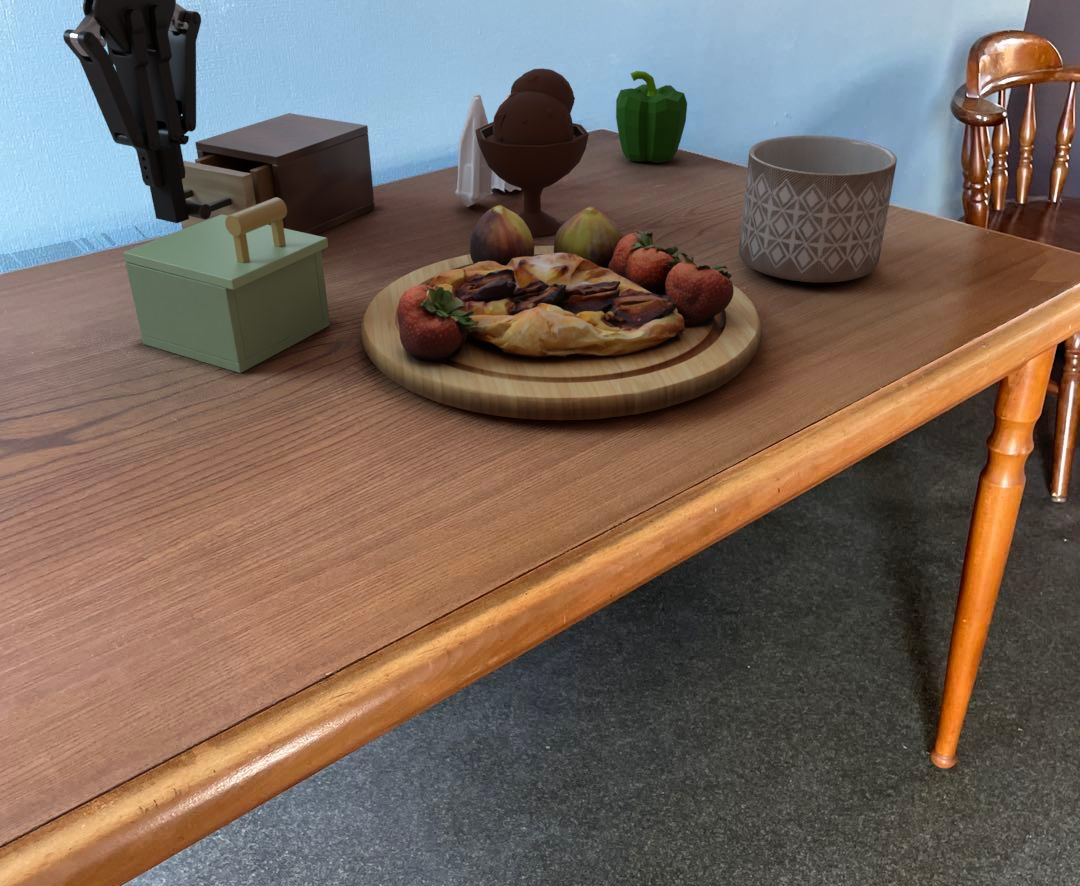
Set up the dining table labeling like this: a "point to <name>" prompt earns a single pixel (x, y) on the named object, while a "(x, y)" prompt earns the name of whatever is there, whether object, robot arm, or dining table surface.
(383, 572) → the dining table surface
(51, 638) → the dining table surface
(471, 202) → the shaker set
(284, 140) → the cabinet
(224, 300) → the chest
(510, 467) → the dining table surface
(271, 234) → the chest lid
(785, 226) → the planter
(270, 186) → the drawer
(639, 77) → the bell pepper
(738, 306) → the wooden plate
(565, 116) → the ice cream bowl
